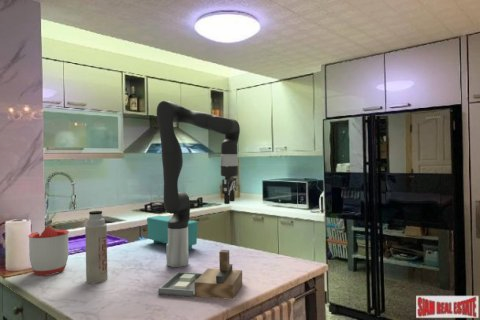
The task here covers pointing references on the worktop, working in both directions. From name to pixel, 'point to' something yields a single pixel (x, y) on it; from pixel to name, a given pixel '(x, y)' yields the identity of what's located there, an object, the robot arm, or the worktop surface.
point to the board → (218, 284)
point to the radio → (160, 230)
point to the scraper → (224, 266)
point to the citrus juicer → (48, 251)
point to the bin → (169, 290)
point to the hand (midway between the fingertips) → (229, 202)
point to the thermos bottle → (96, 248)
